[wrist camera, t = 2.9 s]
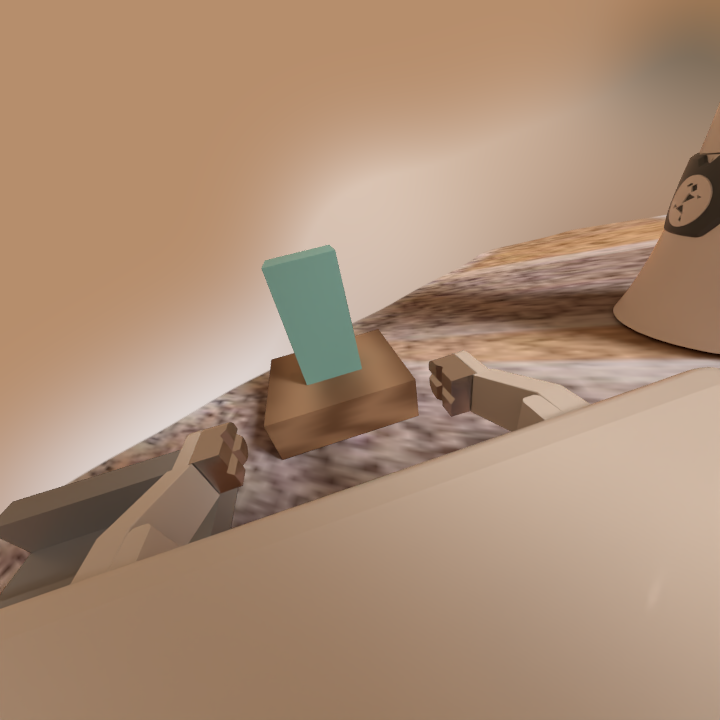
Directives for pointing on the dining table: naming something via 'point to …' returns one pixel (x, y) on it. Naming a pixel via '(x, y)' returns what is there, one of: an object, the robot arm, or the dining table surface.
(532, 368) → the dining table surface
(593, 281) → the dining table surface
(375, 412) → the brown block
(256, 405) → the dining table surface
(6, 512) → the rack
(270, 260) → the sage green upright block
